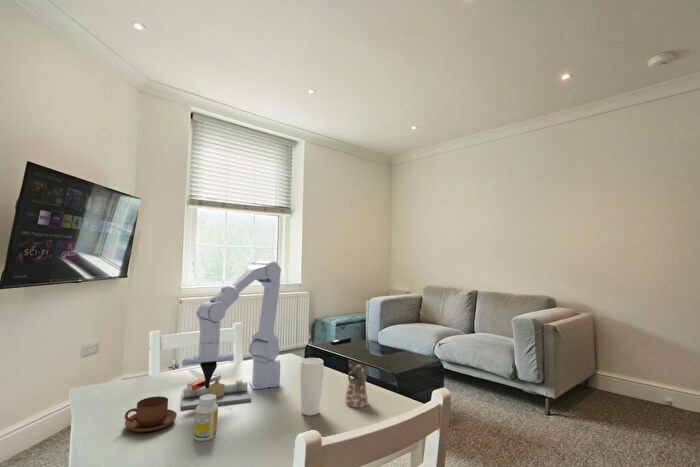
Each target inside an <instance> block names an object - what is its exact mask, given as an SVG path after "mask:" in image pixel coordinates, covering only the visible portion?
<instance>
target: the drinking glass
mask: <svg viewBox="0 0 700 467" xmlns="http://www.w3.org/2000/svg"><path fill="white" fill-rule="evenodd" d="M299 373H300V402H301V404H300V405H301V408H300V410H301V414H302V415H304V416H309V417H310V416H311V417H312V416H316V415H318V414H319V412H320V402H321V395H322V387H323V380H324V360H323V359H321V358H317V357H307V358H303V359H301V361H300V372H299Z"/></svg>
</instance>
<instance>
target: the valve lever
mask: <svg viewBox="0 0 700 467" xmlns="http://www.w3.org/2000/svg"><path fill="white" fill-rule="evenodd" d="M221 378H222V374H220V373H218V374H217V373H216V374H213V375H212V377H211V380H210V383H212V382H214V381H217V380H222V379H221ZM204 386H205V378H200V379H198V380H194V381H192V382H189V383H187V387H186V388H187V390H192V391H194V390H197V389H199V388H202V387H204Z"/></svg>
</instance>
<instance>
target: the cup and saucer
mask: <svg viewBox="0 0 700 467" xmlns="http://www.w3.org/2000/svg"><path fill="white" fill-rule="evenodd" d="M168 408H169V398H168V397H165V396H150V397H146V398H143V399H140V400H139V401H137V403H136V408H130V409H129V410H127V411H126V412H125V414H124V419H125V422H124V426H125V427H126V429H128V430H130V431H132V432H137V433H139V432H141V433H145V432H146V433H147V432H154V431H156V430H157V431H158V430H160V429H164V428H165V427H168V426H170V425H171V424H172V423H174V421H175V420H176V418H177V414H178V413H177V412H176V411H174V410H172V409H168ZM131 412H132V413H133V412H135V414H132V415H131V416H129V414H130V413H131Z"/></svg>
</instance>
